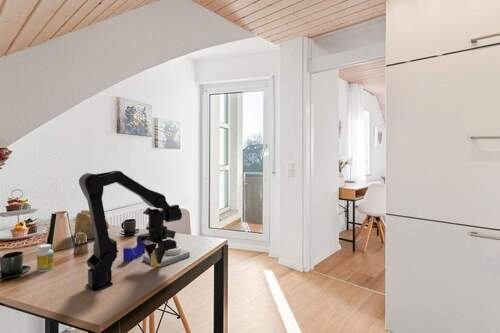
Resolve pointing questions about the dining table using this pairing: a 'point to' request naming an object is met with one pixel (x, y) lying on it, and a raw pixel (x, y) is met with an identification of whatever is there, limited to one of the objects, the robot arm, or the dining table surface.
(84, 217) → the rough brown rock
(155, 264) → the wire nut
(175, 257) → the plate
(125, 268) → the dining table surface
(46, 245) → the supplement bottle
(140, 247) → the cable clip
